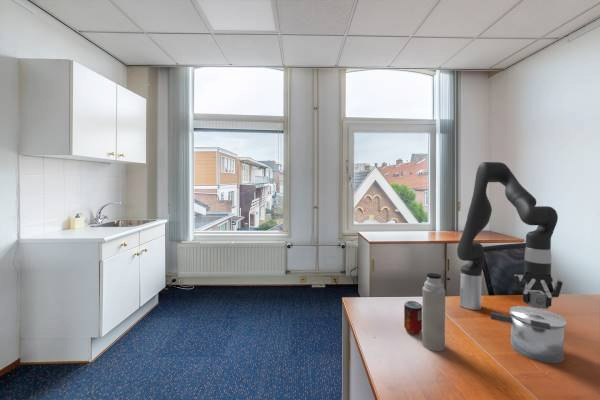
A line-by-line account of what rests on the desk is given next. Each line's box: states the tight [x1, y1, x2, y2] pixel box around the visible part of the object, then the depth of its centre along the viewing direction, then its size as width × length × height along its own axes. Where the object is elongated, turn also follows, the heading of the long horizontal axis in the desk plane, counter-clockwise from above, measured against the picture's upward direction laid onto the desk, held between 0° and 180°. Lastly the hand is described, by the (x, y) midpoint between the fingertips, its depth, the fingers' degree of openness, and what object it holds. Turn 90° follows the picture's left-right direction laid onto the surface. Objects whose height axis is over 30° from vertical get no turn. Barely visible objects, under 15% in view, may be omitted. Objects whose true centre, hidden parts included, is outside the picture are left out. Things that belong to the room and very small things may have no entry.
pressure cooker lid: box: [509, 305, 567, 330], centre depth 103 cm, size 16×18×2 cm
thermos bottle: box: [421, 272, 446, 352], centre depth 108 cm, size 8×8×28 cm
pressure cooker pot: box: [490, 311, 565, 364], centre depth 107 cm, size 22×17×12 cm
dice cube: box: [527, 289, 549, 310], centre depth 105 cm, size 5×5×5 cm
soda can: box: [403, 300, 422, 336], centre depth 120 cm, size 7×7×12 cm
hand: (536, 304), depth 104 cm, fingers closed on dice cube, 5 cm apart
